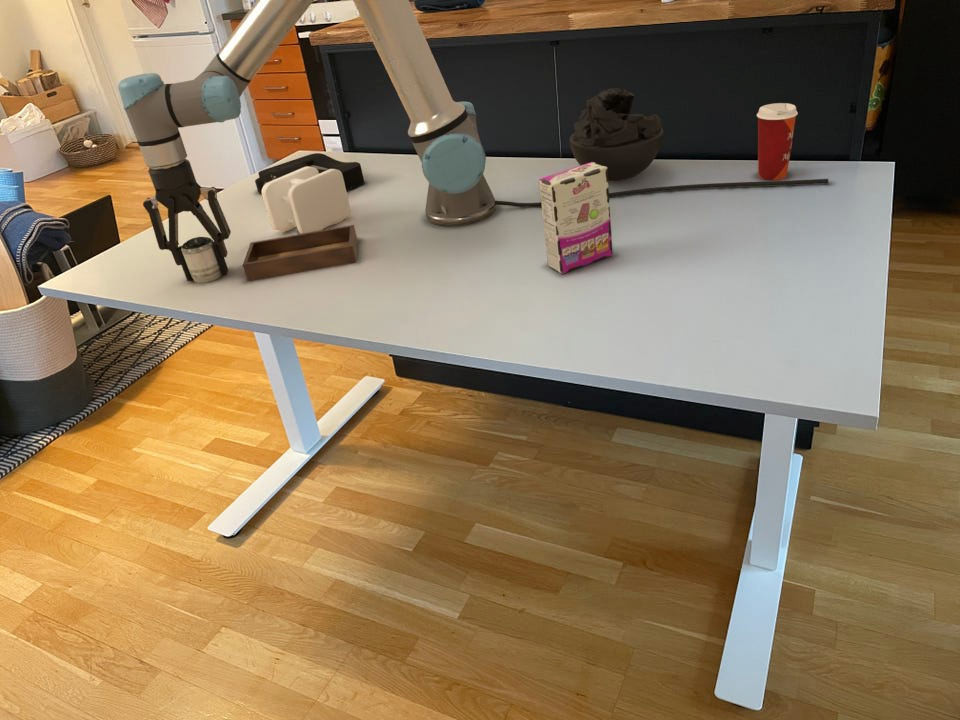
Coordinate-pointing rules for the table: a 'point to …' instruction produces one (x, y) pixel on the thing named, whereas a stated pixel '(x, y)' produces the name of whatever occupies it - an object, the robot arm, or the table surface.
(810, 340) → the table surface
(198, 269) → the camera lens
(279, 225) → the cable organizer
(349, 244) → the box
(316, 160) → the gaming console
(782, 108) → the paper cup
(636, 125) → the coal bowl
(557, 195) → the candy bar box
